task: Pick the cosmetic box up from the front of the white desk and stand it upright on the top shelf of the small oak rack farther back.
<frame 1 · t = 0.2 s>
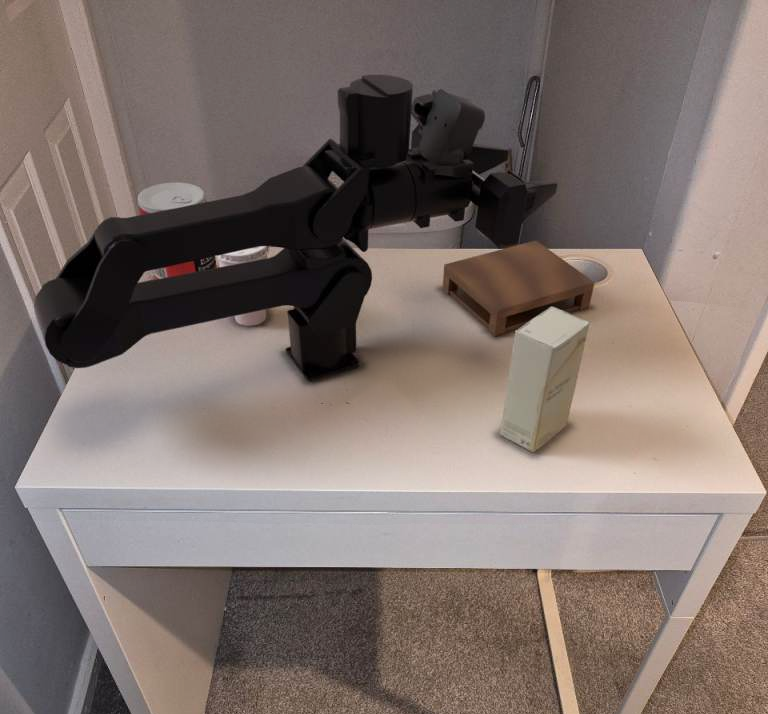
hand: (531, 170, 82), 17 cm above the table, tool horizontal, fingers open, 9 cm apart
shelf: (514, 298, 95), on the table
cosmetic box: (532, 431, 78), on the table
smoothie: (250, 318, 92), on the table
canned food: (187, 281, 98), on the table
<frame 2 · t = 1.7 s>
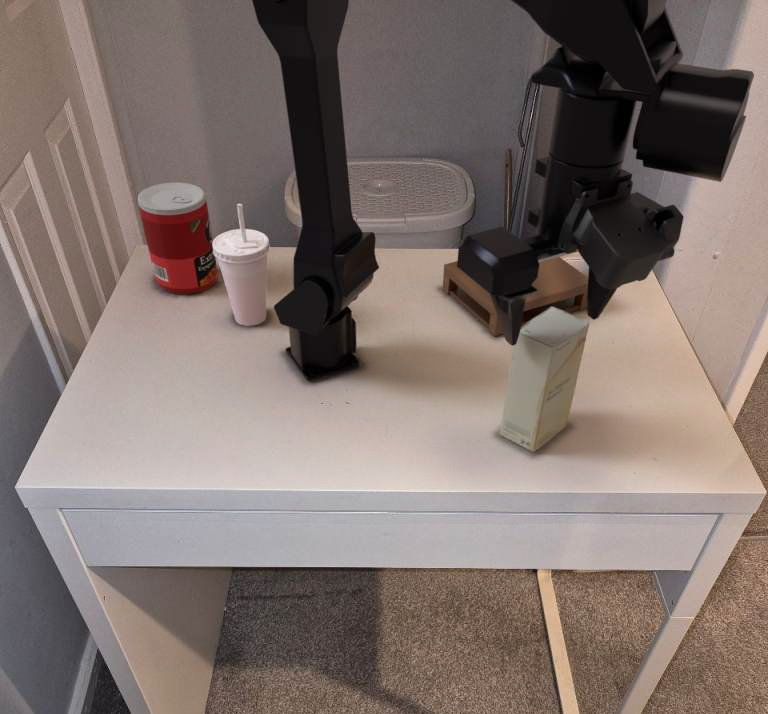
hand: (552, 330, 69), 12 cm above the table, tool pointing down, fingers open, 9 cm apart
nothing on the table moved.
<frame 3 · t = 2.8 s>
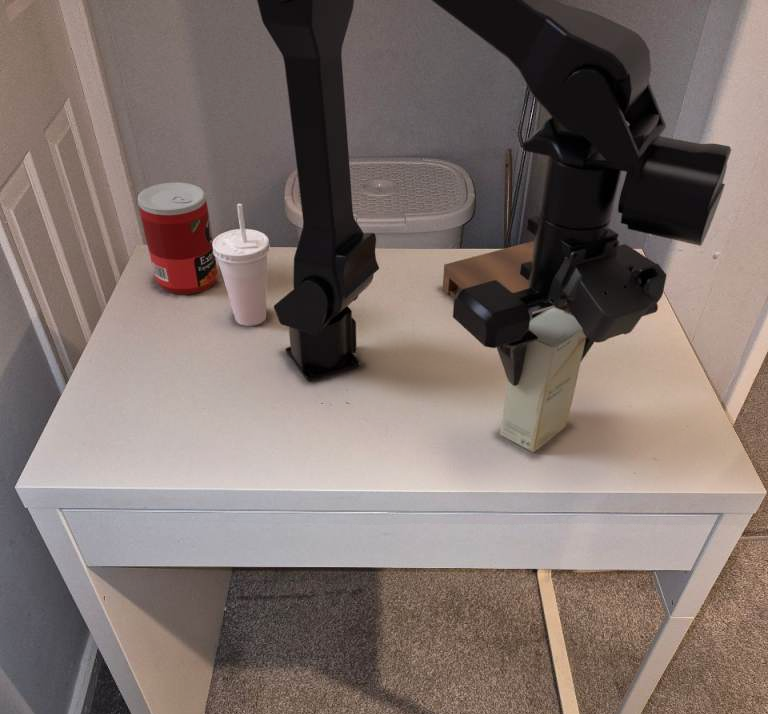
hand: (543, 373, 73), 7 cm above the table, tool pointing down, fingers closed on cosmetic box, 7 cm apart
cosmetic box: (532, 431, 78), on the table, touching gripper
everything else where it was.
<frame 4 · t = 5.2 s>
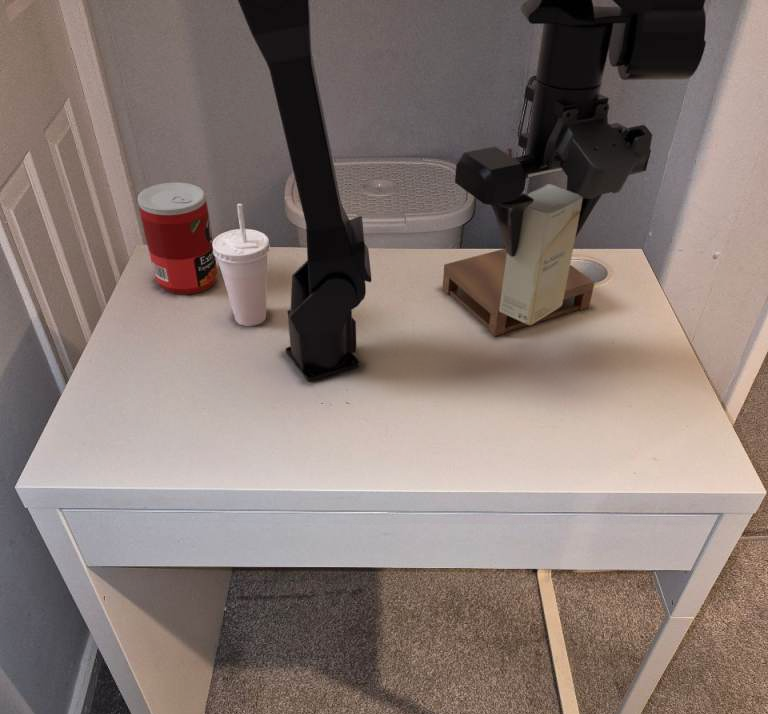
hand: (540, 247, 78), 13 cm above the table, tool pointing down, fingers closed on cosmetic box, 7 cm apart
cosmetic box: (530, 310, 83), point 6 cm above the table, touching gripper
everything else where it was.
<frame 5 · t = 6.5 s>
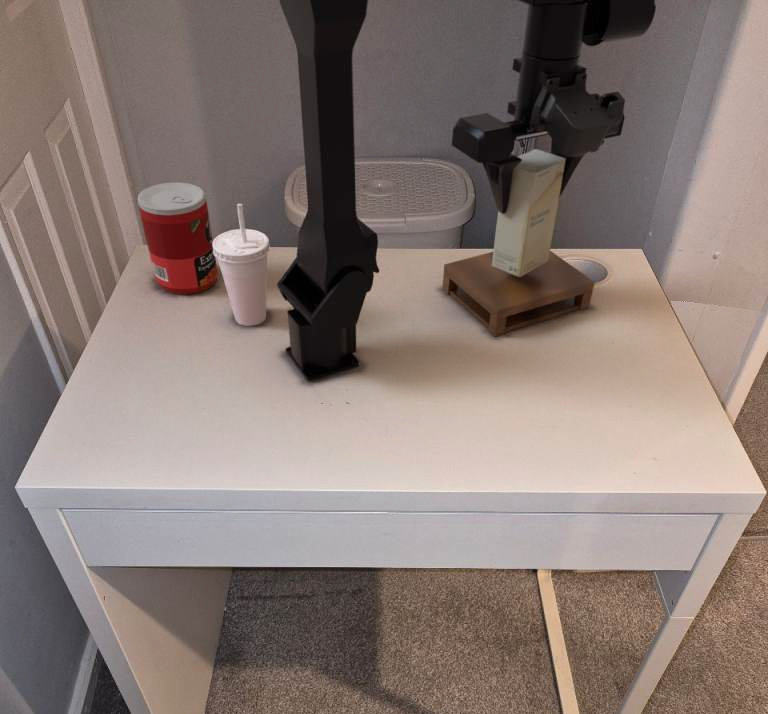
hand: (527, 206, 87), 12 cm above the table, tool pointing down, fingers closed on cosmetic box, 7 cm apart
cosmetic box: (519, 265, 92), point 5 cm above the table, touching gripper
everything else where it was.
when the fingers open (11 cm above the table, at t = 7.5 s): cosmetic box stays where it is, resting on shelf.
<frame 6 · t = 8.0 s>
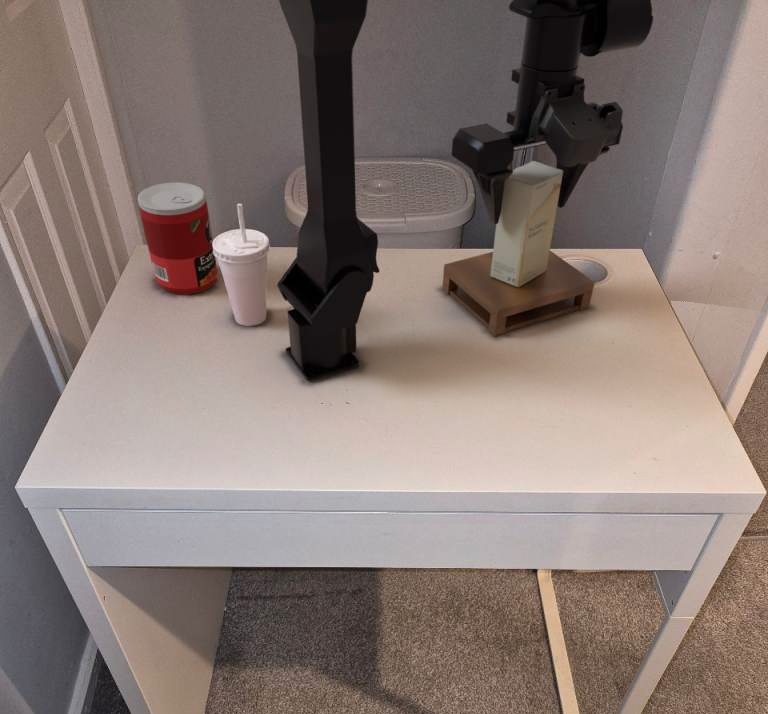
hand: (527, 214, 88), 11 cm above the table, tool pointing down, fingers open, 9 cm apart
cosmetic box: (517, 275, 93), point 3 cm above the table, touching shelf
everything else where it was.
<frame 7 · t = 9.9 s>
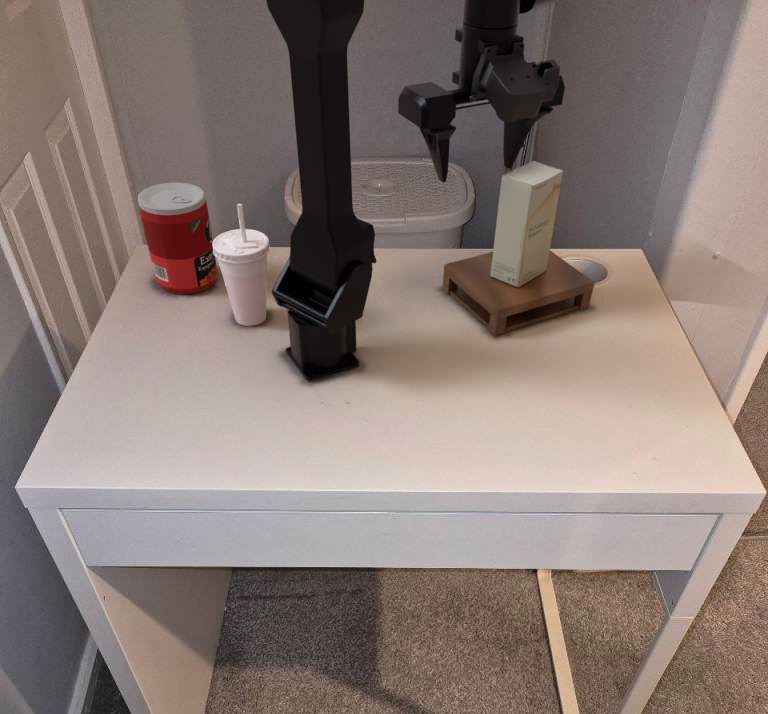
hand: (475, 174, 90), 13 cm above the table, tool pointing down, fingers open, 9 cm apart
nothing on the table moved.
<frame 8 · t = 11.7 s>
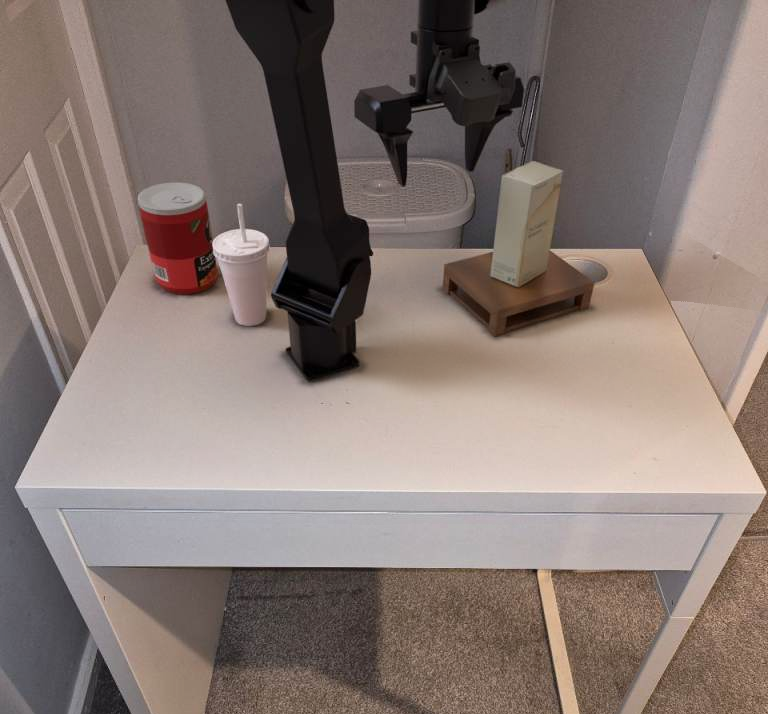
hand: (436, 177, 89), 13 cm above the table, tool pointing down, fingers open, 9 cm apart
nothing on the table moved.
at the end: cosmetic box inside the target area on the shelf (0.1 cm from its centre), point 3.3 cm above the shelf's base; cosmetic box tilted 0°; the gripper is holding nothing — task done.
